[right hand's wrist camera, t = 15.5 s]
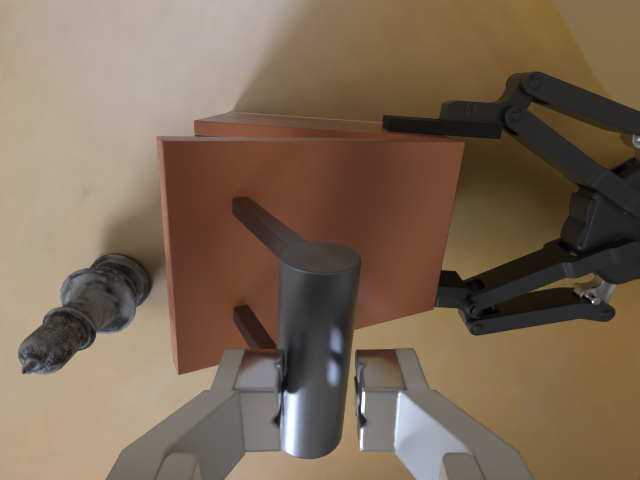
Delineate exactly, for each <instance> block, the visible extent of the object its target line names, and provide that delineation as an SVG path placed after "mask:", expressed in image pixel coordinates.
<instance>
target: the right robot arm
mask: <svg viewBox="0 0 640 480" xmlns="http://www.w3.org/2000/svg"><path fill="white" fill-rule="evenodd" d="M284 368H285V353H284V349H245V348H228V349H226V350H225V351H224V354H223V357H222V359H221V362H220V365H219V368H218V370H217V373H216V376H215V378H214V381H213V384H212V386H211V389H210V390H204V391H203V392H201V393H200V394H199V395H197V396H196V397H195V398H193V399H192V400H190V401H189V402H188V403H186V404H185V405H184V406H182V407H181V408H180V409H178V410H177V411H175V412H174V413H173V414H171V415H170V416H169V417H167V418H166V419H164V420H163V421H162V422H160V423H159V424H158V425H156V426H155V427H154V428H152V429H151V430H149V431H148V432H147V433H145V434H144V435H143V436H141V437H140V438H138V439H137V440H136V441H134V442H133V443H132V444H130V445H129V446H128V447H126V448H125V449H123V450H122V451H121V453H120V455H119V457H118V459H117V460H116V462H115V464H114V466H113V468H112V469H111V471H110V473H109V475H108V477H107V478H106V480H224V479H225V478H226V477H227V475H228V474H229V473H230V472H231V471H232V469H233V468H234V467H235V466H236V464H237V463H238V462H239V461H240V460H241V458H242V457H243V456H244V455H245V452H266V451H280V448H281V440H282V431H283V420H282V417H283V416H284V413H285V400H286V377H285V376H284ZM355 368H356V376H355V377H354V402H355V413H356V416H357V417H358V419H357V431H358V440H359V448H360V451H373V452H395V454H396V456H397V457H398V458H399V459H400V460H401V462H402V463H403V464H404V465H405V467H406V468H407V469H408V470H409V471H410V473H411V474H412V475H413V476H414V478H415V479H416V480H534V478H533V476H532V475H531V473H530V471H529V469H528V467H527V466H526V464H525V462H524V460H523V458H522V457H521V455H520V453H519V451H518V450H516V449H515V448H513V447H512V446H511V445H509V444H508V443H507V442H505V441H504V440H503V439H501V438H500V437H499V436H497V435H496V434H494V433H493V432H492V431H490V430H489V429H488V428H486V427H485V426H484V425H482V424H481V423H479V422H478V421H477V420H475V419H474V418H473V417H471V416H470V415H469V414H467V413H466V412H464V411H463V410H462V409H460V408H459V407H458V406H456V405H455V404H454V403H452V402H451V401H449V400H448V399H447V398H445V397H444V396H443V395H441V394H440V393H439V392H437V391H436V390H430V389H429V387H428V384H427V381H426V379H425V376H424V373H423V371H422V368H421V365H420V363H419V360H418V357H417V355H416V352H415V350H414V349H413V348H403V349H377V350H356V353H355Z"/></svg>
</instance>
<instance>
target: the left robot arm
mask: <svg viewBox="0 0 640 480" xmlns="http://www.w3.org/2000/svg"><path fill="white" fill-rule="evenodd" d="M531 102H533V103H536V104H539V105H541V106H544V107H546V108H549V109H551V110H554V111H557V112H559V113H562V114H564V115H567V116H570V117H572V118H575V119H577V120H580V121H582V122H585V123H588V124H590V125H593V126H595V127H598V128H601V129H604V130H607V131H612V132H619V133H621V134H620V139H621V140H623V143H624V144H625V145H626V146H629V147H632V148H633V149H634V150H635V157H633V158H630V159H628V160H627V161H625V162H623V163H621V164H619V165H617V166H615V167H614V168H612V169H610V170H608V169H606V168H604V167H602V166H600V165H599V164H598V163H596V162H595V161H594V160H592V159H591V158H590V157H588V156H587V155H586V154H584V153H583V152H582V151H580V150H579V149H578V148H576V147H575V146H574V145H572V144H571V143H570V142H569V141H567V140H566V139H565V138H563V137H562V136H561V135H559V134H558V133H557V132H555V131H554V130H553V129H551V128H550V127H549V126H547V125H546V124H545V123H543V122H542V121H541V120H539V119H538V118H537V117H536V116H534V115H533V114H532V113H530V112H529V111H528V110H527V108H528V107H529V105H530V103H531ZM382 128H384V129H386V130H387V131H391V132H405V133H420V134H434V135H448V136H463V137H478V138H493V139H500V137H501V132H502V130H503V131H505V132H506V133H507V134H509V135H510V136H512V137H513V138H514V139H516V140H517V141H518V142H520V143H521V144H522V145H524V146H525V147H526V148H528V149H529V150H531V151H532V152H533V153H535V154H536V155H537V156H539V157H540V158H541V159H543V160H544V161H545V162H547V163H548V164H550V165H551V166H552V167H554V168H555V169H556V170H558V171H559V172H560V173H562V174H563V176H564V177H565V178H566V179H568V180H569V181H571V182H572V183H573V184H575V185H576V186H577V187H579V190H578V191H577V192H573V193H572V196H571V200H570V203H569V216H568V218H567V220H566V221H565V223H564V225H563V227H562V231H561V234H560V236H561V238H558V239H556V240H553V241H551V242H548V243H546V244H545V245H544V247H543V248H542V249H541V250H538V251H536V252H533V253H531V254H528V255H526V256H523V257H521V258H518V259H516V260H513V261H511V262H508V263H506V264H503V265H501V266H498V267H496V268H493V269H491V270H488V271H486V272H483V273H481V274H478V275H476V276H474V277H471V278H469V279H466V280H464V281H462V279H461V278H460V276H459V275H458V274H457V272H456V271H445V270H441V273H440V278H439V283H438V288H437V294H436V299H435V304H434V307H445V308H458V309H459V311H458V312H459V315H460V316H461V318H462V320H463V321H464V323H465V325H466V326H467V328H468V330H469V331H470V333H471V334H473V335H484V334H490V333H496V332H502V331H508V330H514V329H520V328H526V327H532V326H538V325H544V324H550V323H556V322H562V321H568V320H574V319H587V320H594V321H602V322H607V321H609V320H611V319H612V318H613V317H614V316H615V313H616V312H615V309H614V308H613V307H612V306H610V305H609V304H608V303H609V301H610V298H611V296H612V294H613V292H614V289H615V287H616V285H618V284H623V283H626V282H629V281H632V280H636V279H640V111H637V110H635V109H632V108H629V107H627V106H624V105H622V104H619V103H617V102H614V101H612V100H609V99H607V98H604V97H602V96H599V95H597V94H594V93H592V92H589V91H587V90H584V89H582V88H579V87H577V86H574V85H571V84H569V83H566V82H564V81H561V80H559V79H556V78H554V77H551V76H549V75H546V74H544V73H541V72H526V73H516V74H513V75H511V76H510V77H509V78H508V80H507V82H506V89H505V91H504V93H503V94H502V96H501V97H500V98H499V99H498V100H497V101H495V102H492V103H482V102H467V101H452V100H450V101H447V102H444V103H442V105H441V111H440V117H439V119H431V118H416V117H401V116H386V115H383V123H382ZM571 253H572V254H573V255H571ZM589 273H594V274H595V277H594V278H593V279H592V280H591V281H590V282H587V283H581V284H580V283H578V282H576V283H574V284H573V285H572V288H568V287H560V288H552V289H547V290H541V291H535V292H530V291H532V290H535V289H537V288H540V287H543V286H545V285H548V284H550V283H553V282H556V281H558V280H561V279H563V278H579V277H582V276H584V275H587V274H589ZM527 292H529V293H527Z"/></svg>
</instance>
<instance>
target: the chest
mask: <svg viewBox="0 0 640 480" xmlns="http://www.w3.org/2000/svg"><path fill="white" fill-rule="evenodd" d="M382 123H383V122H374V121H360V120H346V119H332V118H318V117H304V116H290V115H276V114H262V113H248V112H234V111H231V112H228V113H225V114H220V115H216V116H212V117H208V118H204V119H200V120H195V121H194V133H195V137H299V138H417V139H450V138H448V137H445V136H443V135H434V134H420V133H405V132H391V131H387V130H386V129H384V128H382Z"/></svg>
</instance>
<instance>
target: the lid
mask: <svg viewBox="0 0 640 480" xmlns="http://www.w3.org/2000/svg"><path fill="white" fill-rule="evenodd" d="M464 147H465V142H462V141H457V140H451V139H417V138H299V137H180V136H158V137H157V150H158V164H159V177H160V191H161V205H162V218H163V232H164V245H165V259H166V273H167V286H168V300H169V314H170V327H171V341H172V354H173V360H174V364H175V367H176V370H177V373H178V375H181V374H185V373H189V372H193V371H197V370H200V369H204V368H208V367H212V366H216V365H220V362H221V359H222V357H223V354H224V351H225V350H226V349H228V348H245V349H284V353H285V368H284V376H285V377H286V400H285V413H284V416H283V417H282V420H283V431H282V440H281V448H282V449H283V450H284V451H285V452H287V453H288V454H290V455H292V456H295V457H298V458H302V459H316V458H320V457H323V456H325V455H327V454H329V453H331V452H332V451H333V450H334V449H335V448H336V447H337V446H338V444H339V442H340V440H341V437H342V429H343V420H344V411H345V403H346V394H347V385H348V376H349V367H350V358H351V350H352V341H353V332H354V330H355V329H359V328H363V327H367V326H371V325H375V324H379V323H383V322H386V321H390V320H394V319H398V318H402V317H406V316H410V315H414V314H417V313H421V312H425V311H429V310H433V309H434V304H435V299H436V294H437V288H438V283H439V278H440V273H441V267H442V262H443V257H444V252H445V246H446V241H447V236H448V231H449V225H450V220H451V215H452V210H453V204H454V199H455V194H456V189H457V183H458V178H459V173H460V168H461V162H462V157H463V152H464Z"/></svg>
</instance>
